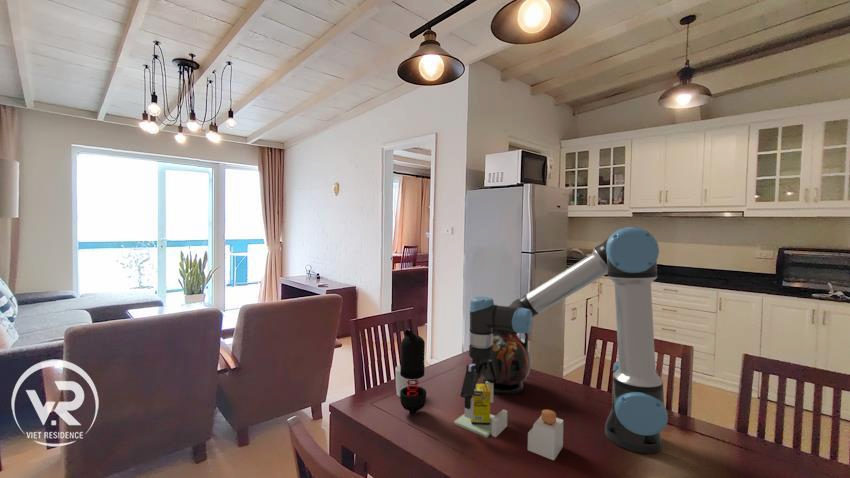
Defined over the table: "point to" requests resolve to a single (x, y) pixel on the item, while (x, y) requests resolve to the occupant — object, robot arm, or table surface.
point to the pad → (475, 426)
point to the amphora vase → (509, 361)
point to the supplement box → (481, 405)
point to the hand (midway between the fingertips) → (479, 409)
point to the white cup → (401, 381)
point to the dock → (536, 435)
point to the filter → (412, 372)
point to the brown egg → (548, 416)
